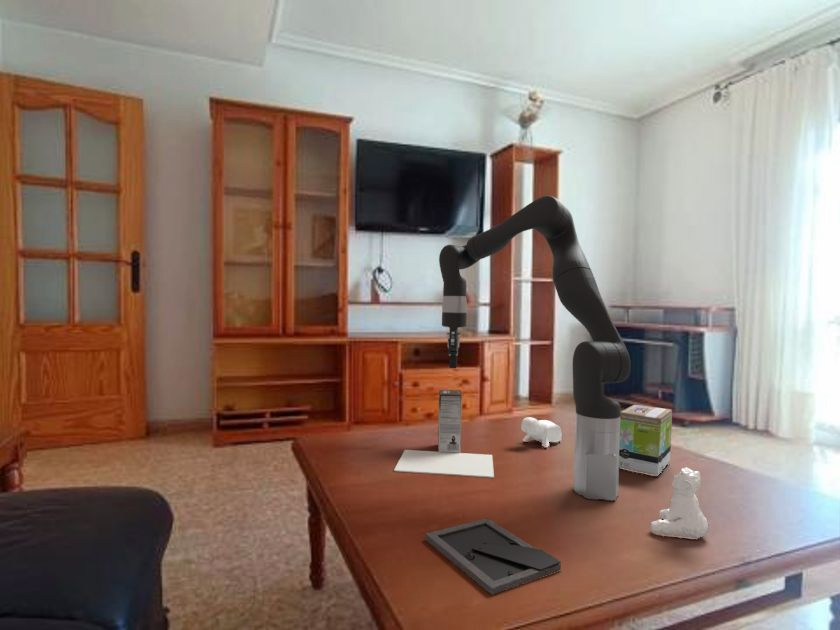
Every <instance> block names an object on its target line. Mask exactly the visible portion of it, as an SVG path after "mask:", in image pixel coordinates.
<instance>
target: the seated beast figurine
mask: <svg viewBox="0 0 840 630" xmlns="http://www.w3.org/2000/svg"><path fill="white" fill-rule="evenodd" d="M673 477H674V478H673V481H672V484H671V486H672V488H673V489H674V490H673V494H672V495H673V496H672V498H671V500H670V505H669V506H668V507H669V508H664V509H661V510H660V511H659V513H658V516H659V517H658V518H659V519H657V520H654V521H651V522H650V531H651V530H652V532H655V533H660V534H665V535H674V536H682V537H691V538H699V539H701V538H703V537H705V536H706V534H707V533H709V527H708V526H709V524H708V520H707V519H708V518H707V517H705V516H704V515H705V514H703V512H702V510H701V509H700V504H699V503H700V502H699V499H698V498H697V494H695V493H697V491H698V490H699V489H700V485H701V473H700V471H698V470H696V471H694V470H693V469H691V468H690V467H687V466H686V467H682V468H681V469H680V471H679V472H678V474H675V475H674V476H673ZM661 518H662V519H664V520H662V519H661ZM700 537H701V538H700Z"/></svg>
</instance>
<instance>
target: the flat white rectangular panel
mask: <svg viewBox="0 0 840 630" xmlns="http://www.w3.org/2000/svg"><path fill="white" fill-rule="evenodd" d="M393 472H398V473H400V472H401V473H415V474H428V475H429V474H430V475H431V474H432V475H444V476H445V475H446V476H457V477H458V476H459V477H461V476H462V477H476V478H490V479H491V478H493V479H494V478H495V475H494V473H495V471H494V459H493V454H481V453H465V452H460V453H449V452H438V451H434V450H433V451H431V450H419V449H418V450H416V449H415V450H412V449H404V451H403V453H402V454H401V457H400V459H399V460H398V461H397V464H396V466H395V467H394V470H393Z"/></svg>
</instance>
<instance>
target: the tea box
mask: <svg viewBox="0 0 840 630" xmlns="http://www.w3.org/2000/svg"><path fill="white" fill-rule="evenodd" d="M672 422H673V410H672V409H670V408H661V407H656V406H655V407H654V406H649V405H648V406H647V405H640V404H632V405H630V406H629V407H627V408H625V409H623V410H621V412H620V445H619V468H624V469H629V470H633V471H637V472H643V473H648V474H653V475H659V474H660V473H661V474H662V472H661V471H662V470H663V469H664V468H665V466H666V465H667V464H668V462H669V461H670V462H671V446H672V430H673V429H672V427H673V426H672V425H673V424H672ZM668 465H669V464H668ZM665 469H666V468H665ZM665 469H664V470H665ZM664 470H663V471H664ZM661 474H660V475H661ZM660 475H659V476H660Z"/></svg>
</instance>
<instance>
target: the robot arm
mask: <svg viewBox="0 0 840 630" xmlns="http://www.w3.org/2000/svg"><path fill="white" fill-rule="evenodd" d="M529 230H535V231H537V232H538V233H539V234H541V235H542V237H544V239H545V240H546V242H547V244H548V246H549V248H550V251H551V254H552V256H553V257H552V258H553V264H552V272H551V275H552V280H553V285H554V288H555V290H556V293H557V296H558V299H559V301H560V303H561V304H562V306H564V308H565V309H566V311H568V313H569V314H571V315H572V317H574V318H575V319H576V320H577V321H578V322H579V323H580V324H581V325H582V326H583V327H584V328H585V329H586V331H587V333H589V335H590V337H591V340H588V341H581V342H580V343H578V344H577V346H576V347H575V348H574V351H573V356H572V389H573V391H572V393H573V401H574V404H575V405H574V406H575V417H574V418H575V419H574V421H575V425H574V426H575V427H574V454H573V455H574V458H573V459H574V462H573V463H574V465H573V490H574V492H575V493H577V494H578V495H581V496H582V495H583V496H582V497H583V498H585V499H586V498H588V500H598V499H606V500H605V501H613V500H616V501H617V498H618V497H619V480H620V479H619V478H620V475H619V474H620V469H619V445H620V412H621V411H622V410H621V408H622V407H621V404H620V402H619V401H616V400H614V399H612V398H608V397H606V396H605V394H604V393H603V386H602V384H616V383H617V384H618V383H623V382H624V381H626V380H627V379H628V378H629V376H630V373H631V370H632V369H631V367H632V366H631V365H632V364H631V358H630V353H629V352H628V349H627V347H626V344H625V342H624V341H623V339H622V336H621V334H620V333H619V332H618V330H617V327H616V326H615V324H614V322H613V320H612V317H611V316H610V313H609V311H608V309H607V307H606V304H605V301H604V300H603V297H602V295H601V292H600V290H599V287H598V284H597V282H596V281H597V280H596V278H595V276H594V273H593V271H592V269H591V266H590V264H589V262H588V260H587V257H586V255H585V253H584V251H583V249H582V247H581V245H580V242H579V238H578V234H577V230H576V226H575V222H574V219H573V215H572V212H571V211H570V210H569V209H568V207H566V206H565V205H564V204H563V203H562V202H561V201H560V200H559V199H558V198H556V197H554V196H553V195H544V196H541V197H539V198H537V199H535V200H533V201H532V202H530V203H528V204H527V205H525V206H524V207H523V208H521V209H520V210H518V211H516V212H515V213H513V214H512V215H510V216H509V217H508V218H507V219H505V220H503V221H501V223H498V224H497V225H495V226H493V227H491V228H489V229H487V230H485V231H483V232H480V233H479V234H476V235H474V236H472V237H471V238H469V239H468V240H467V241H466V244H465V245H462V246H460V245H455V244H447V245H444V246H443V247H442V248H441V250H440V253H439V256H438V257H439V258H438V263H439V269H440V273H441V277H442V283H443V289H442V290H443V291H442V293H443V294H442V295H443V296H442V303H441V326H442V327H445V328H449V332H447V333H446V339H447V348H448V356H449V361H448V362H449V364H448V365H449V368H450V369H456V368H457V366H458V355H459V348H460V339H461V332H459V328H466V327H467V319H468V318H467V317H468V315H467V313H468V312H467V311H468V307H467V306H468V303H467V281H466V278H464V277H463V276H461V273H460V270H465V269H468V268H470V267H471V266H472V267H473V266H474V265H475V264H476V263H478V262H479V261H481V260H482V259H485V258H488V257H490V256H493V255H495V254H497V253H499V252H501V251H502V250H504V249H505V247H507V245H508V244H509V243H510V242H511V241H512V240H513V238H514V237H516V236H517V235H519V234H521V233H523V232H527V231H529ZM617 496H618V497H617ZM616 497H617V498H616Z"/></svg>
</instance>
